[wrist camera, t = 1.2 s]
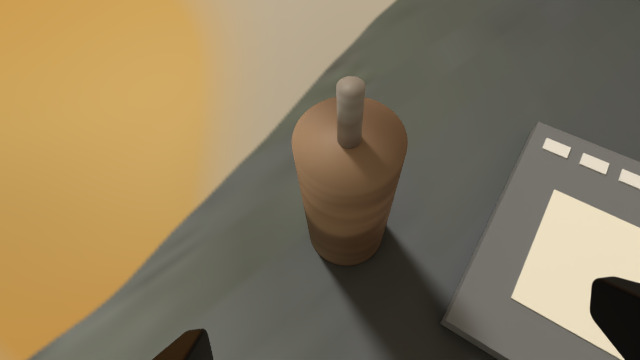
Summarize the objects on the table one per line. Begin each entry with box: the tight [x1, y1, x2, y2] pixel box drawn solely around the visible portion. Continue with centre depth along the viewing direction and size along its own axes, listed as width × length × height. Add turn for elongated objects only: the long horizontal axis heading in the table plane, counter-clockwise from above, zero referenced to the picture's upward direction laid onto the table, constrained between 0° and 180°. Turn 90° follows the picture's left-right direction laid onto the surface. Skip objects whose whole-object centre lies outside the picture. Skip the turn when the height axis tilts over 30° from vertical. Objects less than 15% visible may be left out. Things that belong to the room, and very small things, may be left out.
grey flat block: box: [440, 122, 640, 360], centre depth 21 cm, size 16×13×1 cm
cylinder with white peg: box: [292, 76, 407, 266], centre depth 18 cm, size 5×5×13 cm
